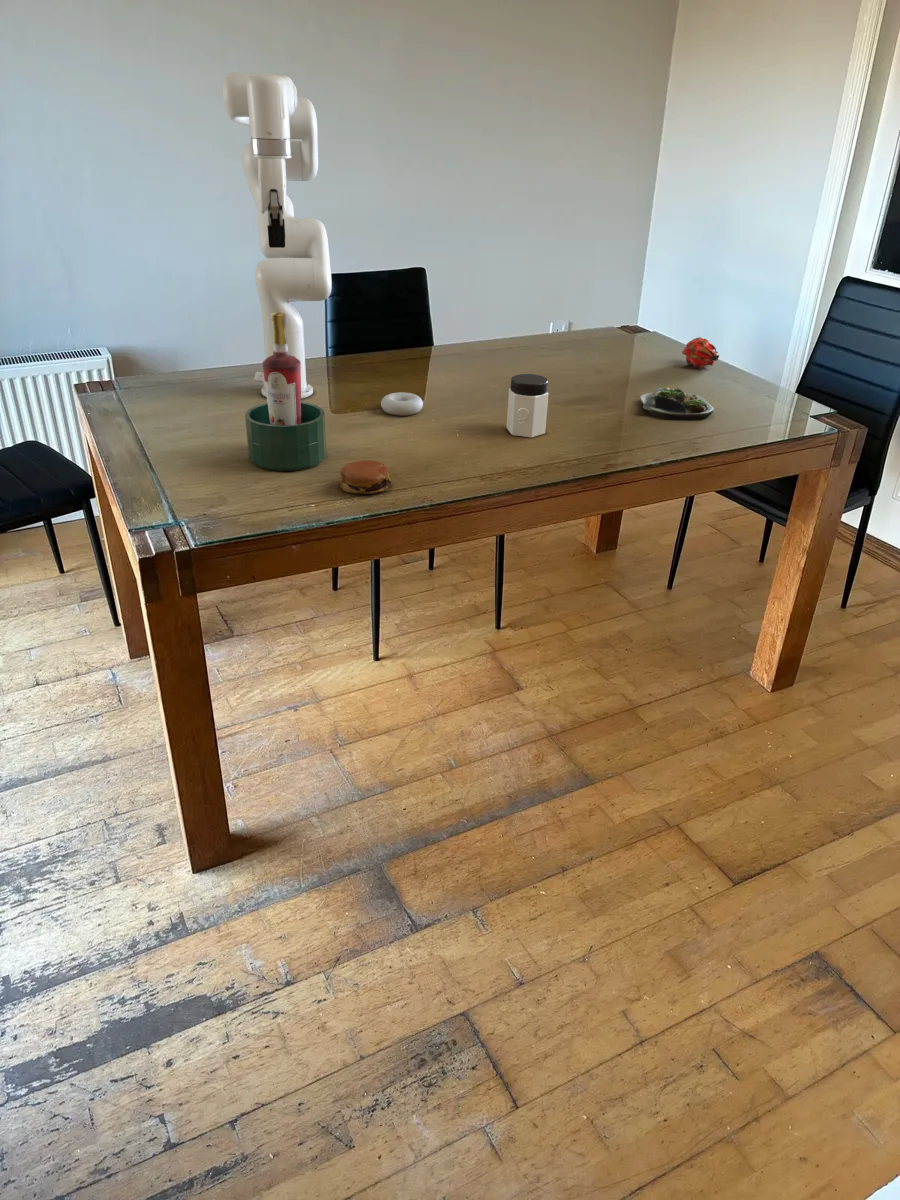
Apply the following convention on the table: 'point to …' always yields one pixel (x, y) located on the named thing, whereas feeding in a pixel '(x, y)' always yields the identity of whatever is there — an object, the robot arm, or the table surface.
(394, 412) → the donut
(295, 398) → the liquor
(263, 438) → the ice bucket
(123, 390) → the table surface
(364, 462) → the burger
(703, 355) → the dragon fruit
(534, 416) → the jar
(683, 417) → the salad plate
